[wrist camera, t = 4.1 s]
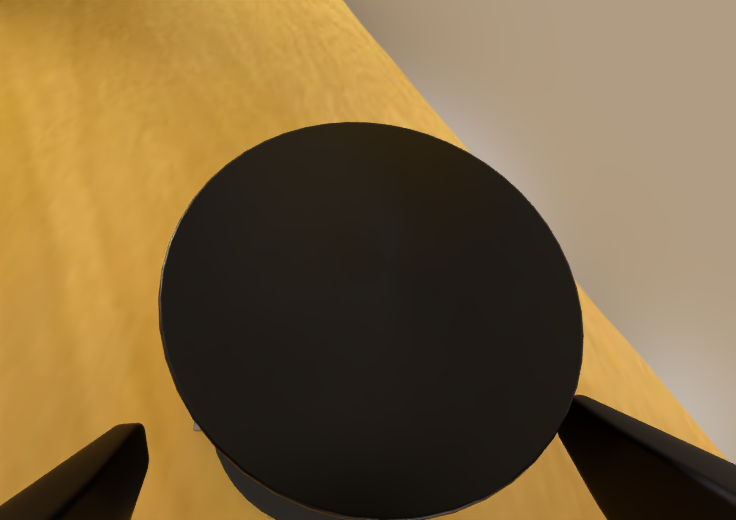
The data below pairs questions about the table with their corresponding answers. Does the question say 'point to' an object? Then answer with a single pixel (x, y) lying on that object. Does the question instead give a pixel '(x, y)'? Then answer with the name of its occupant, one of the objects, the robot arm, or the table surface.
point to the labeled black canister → (370, 322)
